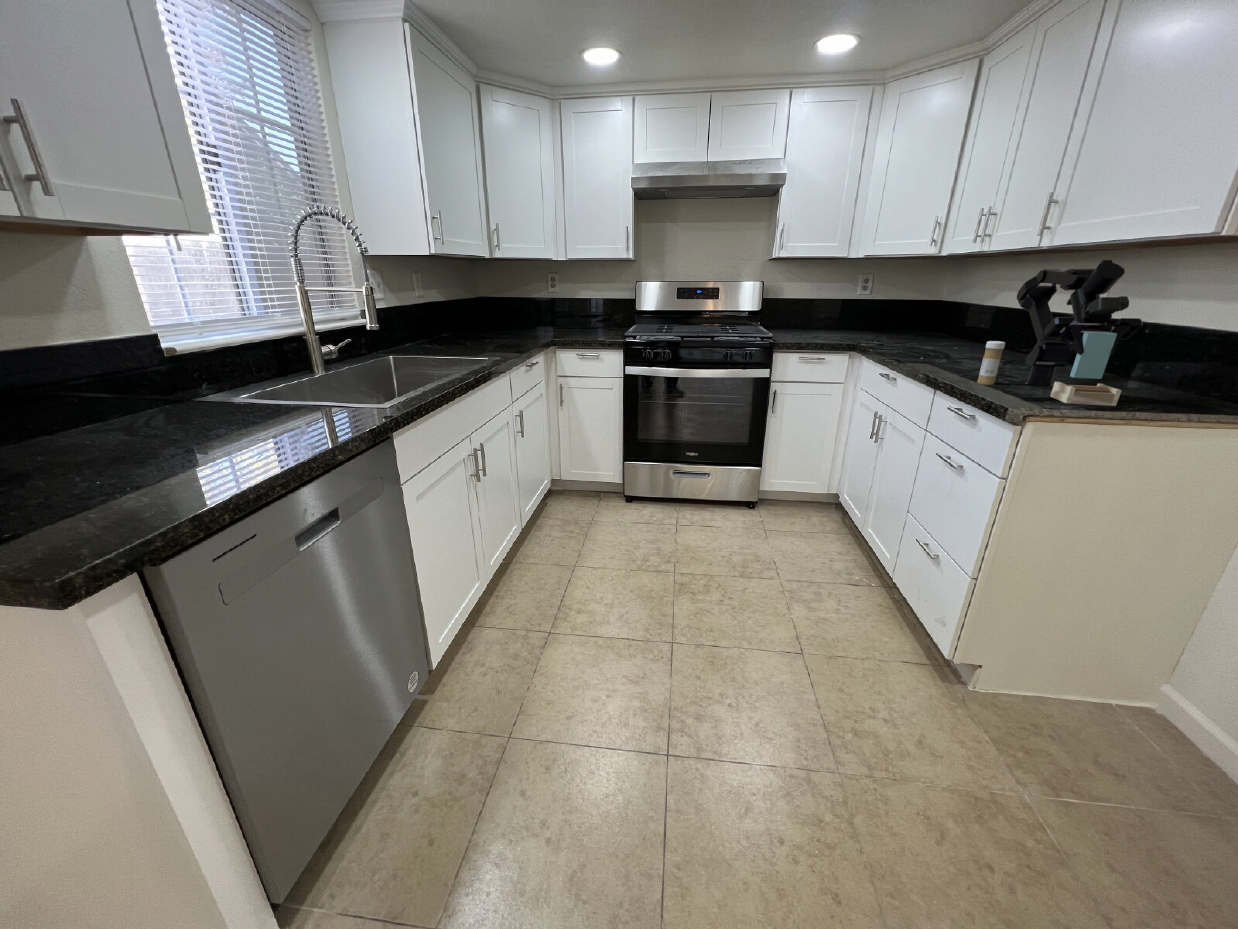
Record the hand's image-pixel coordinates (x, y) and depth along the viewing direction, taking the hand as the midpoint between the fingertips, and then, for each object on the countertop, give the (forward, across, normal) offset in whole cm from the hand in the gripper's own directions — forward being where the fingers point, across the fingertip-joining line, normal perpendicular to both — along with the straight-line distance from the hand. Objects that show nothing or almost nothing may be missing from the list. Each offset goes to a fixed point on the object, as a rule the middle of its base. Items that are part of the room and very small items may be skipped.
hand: (1096, 354), depth 127 cm
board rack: (+10, 0, +9) cm, 13 cm away
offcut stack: (+10, 0, +7) cm, 12 cm away
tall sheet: (+4, 0, +5) cm, 6 cm away
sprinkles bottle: (-4, -16, +23) cm, 28 cm away
